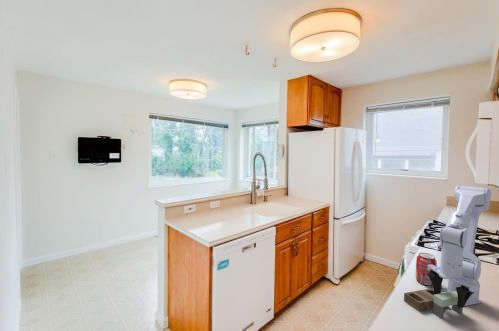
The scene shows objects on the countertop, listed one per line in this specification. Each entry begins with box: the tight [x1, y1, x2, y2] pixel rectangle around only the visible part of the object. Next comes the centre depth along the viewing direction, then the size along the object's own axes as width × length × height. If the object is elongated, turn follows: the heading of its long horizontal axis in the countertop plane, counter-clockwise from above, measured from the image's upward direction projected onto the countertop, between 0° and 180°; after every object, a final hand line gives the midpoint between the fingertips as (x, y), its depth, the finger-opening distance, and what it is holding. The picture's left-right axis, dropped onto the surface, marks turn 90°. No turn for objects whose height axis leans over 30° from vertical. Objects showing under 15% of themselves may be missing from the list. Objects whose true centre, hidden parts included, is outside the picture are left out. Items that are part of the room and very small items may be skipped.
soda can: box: [415, 252, 438, 287], centre depth 101 cm, size 7×7×12 cm
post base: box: [403, 288, 436, 312], centre depth 87 cm, size 13×6×3 cm, turn 105°
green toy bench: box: [432, 291, 464, 319], centre depth 82 cm, size 10×3×6 cm, turn 105°
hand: (448, 299), depth 82 cm, fingers open, 7 cm apart
